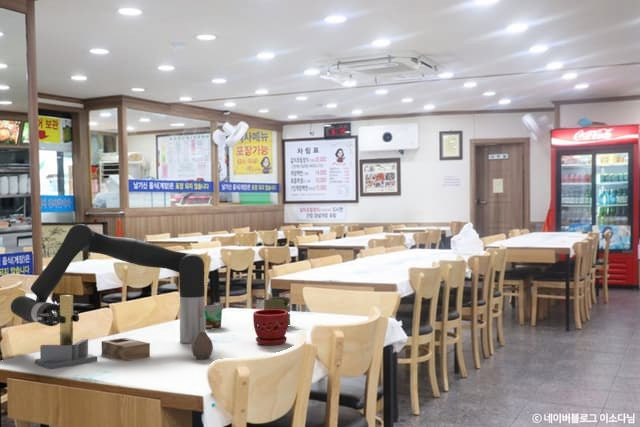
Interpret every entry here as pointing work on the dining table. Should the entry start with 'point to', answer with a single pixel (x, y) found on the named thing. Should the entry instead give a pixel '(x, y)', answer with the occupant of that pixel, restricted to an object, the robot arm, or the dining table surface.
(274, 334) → the plant pot
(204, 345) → the vase
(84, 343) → the v block
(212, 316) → the food container
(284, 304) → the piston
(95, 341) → the dining table surface
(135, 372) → the dining table surface
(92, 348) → the dining table surface
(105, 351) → the brown wooden box
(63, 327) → the axle
